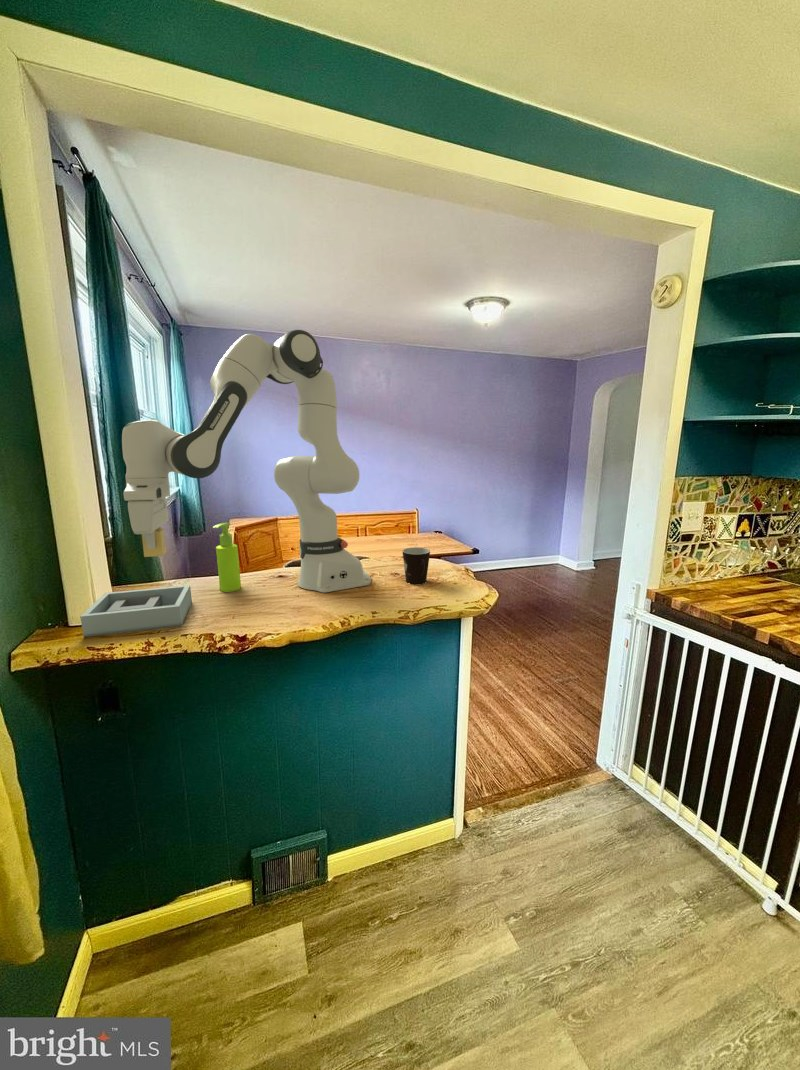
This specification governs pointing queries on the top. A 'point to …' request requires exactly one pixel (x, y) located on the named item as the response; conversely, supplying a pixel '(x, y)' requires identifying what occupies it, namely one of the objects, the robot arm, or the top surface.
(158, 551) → the connector
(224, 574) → the soap dispenser
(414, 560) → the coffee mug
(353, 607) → the top surface
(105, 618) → the caddy
